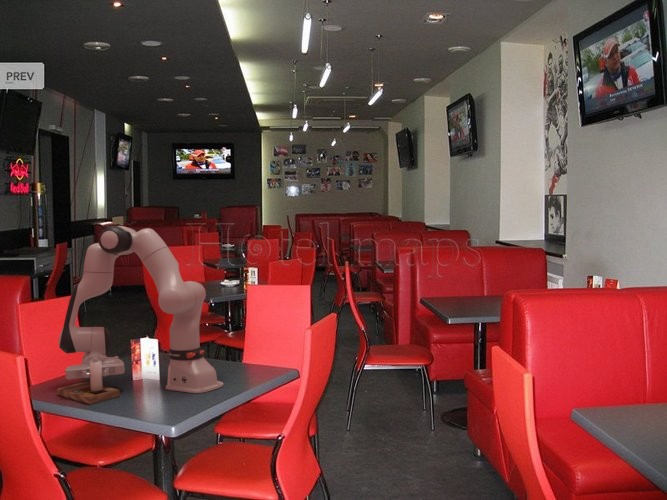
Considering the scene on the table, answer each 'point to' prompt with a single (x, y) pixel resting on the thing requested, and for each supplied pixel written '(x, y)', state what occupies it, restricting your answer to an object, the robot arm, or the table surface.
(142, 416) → the table surface
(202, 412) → the table surface
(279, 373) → the table surface
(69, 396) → the board
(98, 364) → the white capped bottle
